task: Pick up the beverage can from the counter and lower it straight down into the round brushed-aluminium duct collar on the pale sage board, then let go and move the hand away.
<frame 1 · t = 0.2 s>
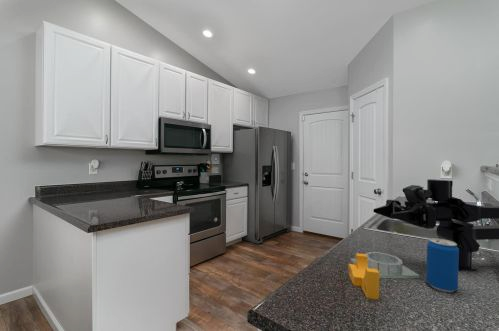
hand: (382, 212, 75), 17 cm above the countertop, tool horizontal, fingers open, 9 cm apart
beverage can: (441, 288, 63), on the countertop
pipe clamp: (362, 287, 63), on the countertop
duct collar: (382, 268, 73), on the countertop
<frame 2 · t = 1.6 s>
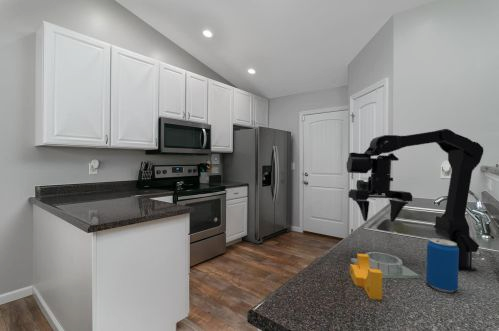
hand: (378, 221, 79), 13 cm above the countertop, tool pointing down, fingers open, 9 cm apart
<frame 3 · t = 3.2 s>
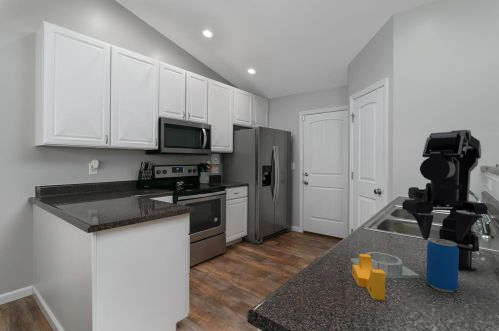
hand: (442, 239, 63), 12 cm above the countertop, tool pointing down, fingers open, 9 cm apart
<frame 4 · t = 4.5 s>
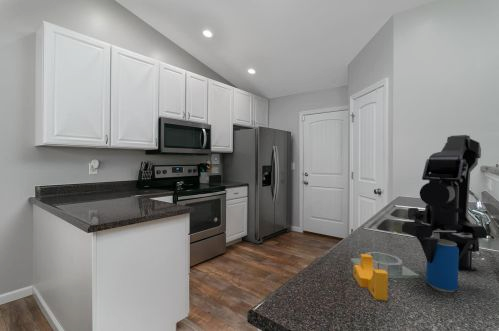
hand: (442, 262, 63), 7 cm above the countertop, tool pointing down, fingers closed on beverage can, 6 cm apart
beverage can: (441, 288, 63), on the countertop, touching gripper
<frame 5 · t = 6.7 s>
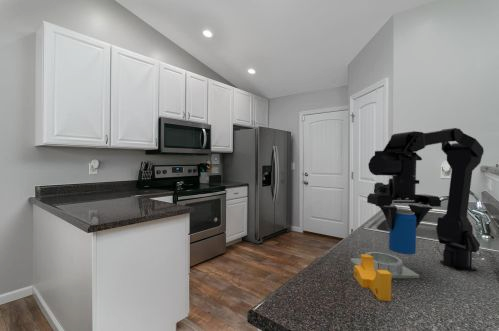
hand: (402, 229, 69), 13 cm above the countertop, tool pointing down, fingers closed on beverage can, 6 cm apart
beverage can: (401, 253, 69), point 6 cm above the countertop, touching gripper
when the fingers open (9 cm above the countertop, at t = 9.0 s): beverage can stays where it is, resting on duct collar.
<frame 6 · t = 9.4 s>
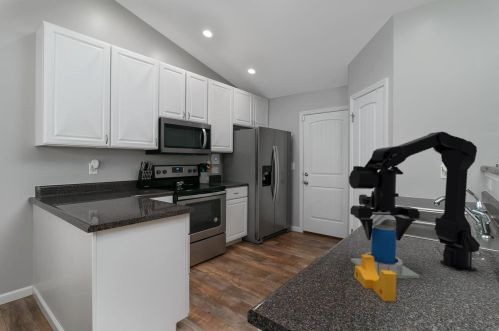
hand: (383, 240, 73), 9 cm above the countertop, tool pointing down, fingers open, 9 cm apart
beverage can: (382, 266, 73), point 1 cm above the countertop, touching duct collar
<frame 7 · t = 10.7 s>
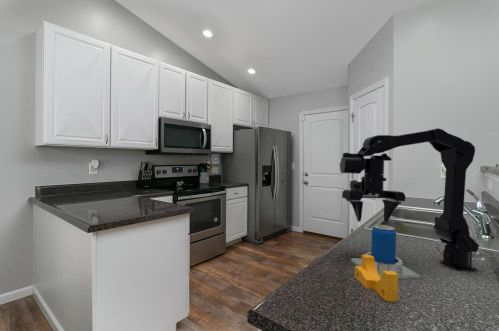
hand: (372, 221, 79), 13 cm above the countertop, tool pointing down, fingers open, 9 cm apart
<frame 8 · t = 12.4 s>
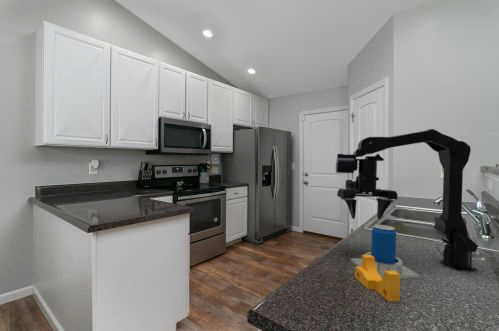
hand: (366, 218, 83), 13 cm above the countertop, tool pointing down, fingers open, 9 cm apart
at the end: beverage can 0.1 cm off-centre on the duct collar, point 0.6 cm above the duct collar's base; beverage can tilted 0°; the gripper is holding nothing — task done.
